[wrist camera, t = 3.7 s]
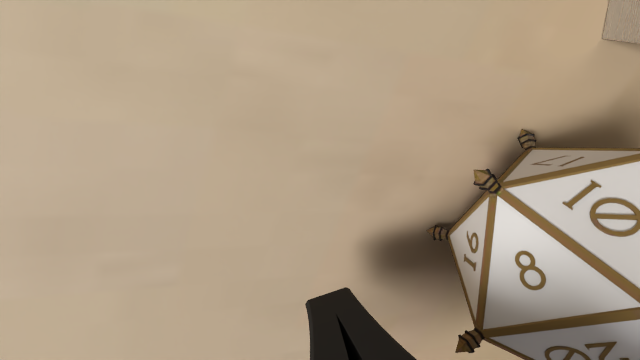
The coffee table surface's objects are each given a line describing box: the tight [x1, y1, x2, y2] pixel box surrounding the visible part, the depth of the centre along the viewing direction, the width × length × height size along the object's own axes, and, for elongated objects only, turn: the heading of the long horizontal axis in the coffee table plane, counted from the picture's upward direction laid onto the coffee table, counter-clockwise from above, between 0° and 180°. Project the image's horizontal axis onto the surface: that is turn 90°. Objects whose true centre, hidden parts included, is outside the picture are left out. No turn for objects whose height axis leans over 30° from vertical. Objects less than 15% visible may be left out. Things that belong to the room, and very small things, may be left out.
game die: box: [427, 129, 640, 360], centre depth 12 cm, size 9×8×10 cm
